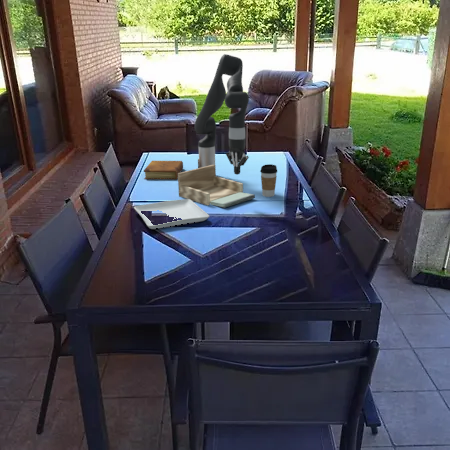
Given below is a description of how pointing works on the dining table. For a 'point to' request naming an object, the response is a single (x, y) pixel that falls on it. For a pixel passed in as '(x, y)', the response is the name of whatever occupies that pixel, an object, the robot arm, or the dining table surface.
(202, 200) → the tray
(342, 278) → the dining table surface
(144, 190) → the dining table surface
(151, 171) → the diary
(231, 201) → the panel
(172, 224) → the square plate
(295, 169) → the dining table surface
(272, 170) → the coffee cup
